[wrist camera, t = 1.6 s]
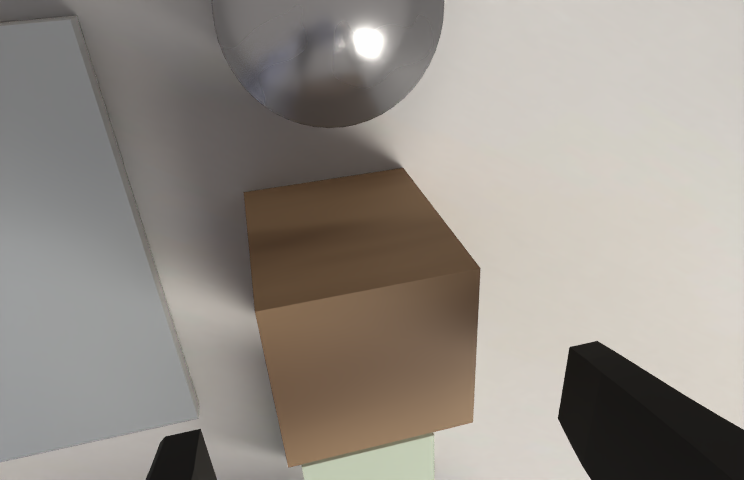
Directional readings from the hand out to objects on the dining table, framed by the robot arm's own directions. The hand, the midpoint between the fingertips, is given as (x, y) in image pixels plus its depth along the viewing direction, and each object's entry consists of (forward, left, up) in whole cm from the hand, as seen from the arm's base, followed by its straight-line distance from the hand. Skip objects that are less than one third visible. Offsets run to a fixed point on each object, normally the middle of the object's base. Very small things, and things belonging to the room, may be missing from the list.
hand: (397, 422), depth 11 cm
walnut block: (0, 0, -7) cm, 7 cm away
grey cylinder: (+7, 0, -7) cm, 10 cm away
